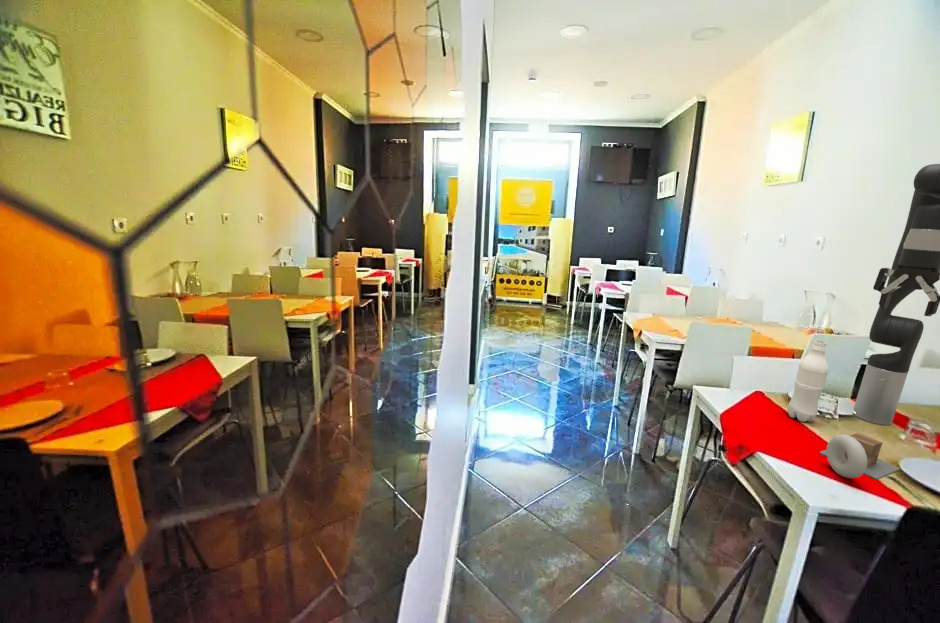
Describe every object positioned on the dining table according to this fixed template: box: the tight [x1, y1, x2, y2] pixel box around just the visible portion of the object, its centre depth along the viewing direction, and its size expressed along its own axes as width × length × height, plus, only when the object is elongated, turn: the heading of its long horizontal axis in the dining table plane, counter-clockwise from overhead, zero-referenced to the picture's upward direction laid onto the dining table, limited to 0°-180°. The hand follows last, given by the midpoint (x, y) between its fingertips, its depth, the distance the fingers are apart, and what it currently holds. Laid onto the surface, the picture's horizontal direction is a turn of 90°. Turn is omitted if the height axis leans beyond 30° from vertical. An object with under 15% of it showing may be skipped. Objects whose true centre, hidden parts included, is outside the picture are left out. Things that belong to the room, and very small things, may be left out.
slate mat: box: [819, 449, 901, 480], centre depth 109 cm, size 12×12×1 cm
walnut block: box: [844, 432, 884, 467], centre depth 108 cm, size 5×5×6 cm
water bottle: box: [787, 339, 830, 423], centre depth 129 cm, size 7×7×25 cm
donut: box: [826, 434, 867, 479], centre depth 101 cm, size 10×4×10 cm, turn 174°
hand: (904, 311), depth 108 cm, fingers open, 8 cm apart
